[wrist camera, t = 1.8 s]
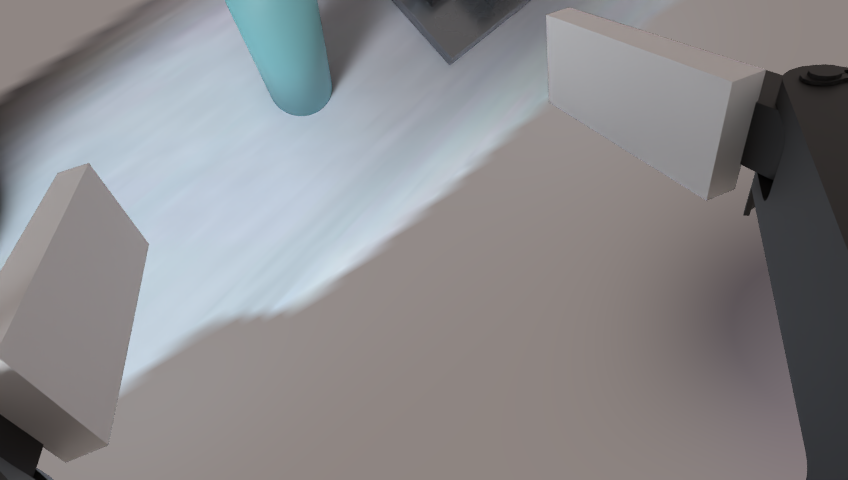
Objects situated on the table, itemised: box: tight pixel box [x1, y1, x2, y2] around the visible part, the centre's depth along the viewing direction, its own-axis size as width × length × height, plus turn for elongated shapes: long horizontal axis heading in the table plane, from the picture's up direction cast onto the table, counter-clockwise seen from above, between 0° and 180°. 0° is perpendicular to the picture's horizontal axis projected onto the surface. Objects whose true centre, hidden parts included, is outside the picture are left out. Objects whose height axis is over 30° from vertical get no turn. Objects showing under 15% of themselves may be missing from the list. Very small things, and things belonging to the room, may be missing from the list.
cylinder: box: [225, 0, 332, 116], centre depth 28 cm, size 4×4×12 cm
